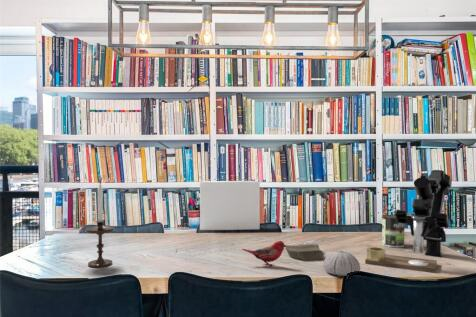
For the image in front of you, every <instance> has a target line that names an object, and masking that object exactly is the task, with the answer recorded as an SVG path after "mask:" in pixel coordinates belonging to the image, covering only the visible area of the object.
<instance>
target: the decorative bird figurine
mask: <svg viewBox="0 0 476 317" xmlns="http://www.w3.org/2000/svg"><path fill="white" fill-rule="evenodd" d="M287 246H288V245H285V243H284V241H282V240H278V241H276V242H274V243H273V244H272V245H270V246H269V245H268V246H266V247H265V246H264V247H262V248H258V249H255V250H251V249H245V248H242V249H241V250H242V251H245V252H247V253H249V254H251V255H253V256H254V257H255V258H256V259H258V260H261V261H262V262H264V263H263V264H262V266H269V267H272V266H274V264H272V263H271V262H274V261H278V259H279V258H280V257H281V255H282V253H283V251H284V250H285V248H286V247H287ZM269 262H270V263H269Z"/></svg>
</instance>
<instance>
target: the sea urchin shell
mask: <svg viewBox="0 0 476 317" xmlns="http://www.w3.org/2000/svg"><path fill="white" fill-rule="evenodd" d="M322 264H323V269H324V271H325V272H327V273H328V274H331V275H335V276H343V277H345V276H347V275H346V274H347V273H350V272H354V271H359V272H360V270H361V265H360V262H359V260H358V259H357V258H356V257H355V255H353V254H352V253H351V252H348V251H344V250H336V251H332V252H331V253H330V254H328V255H327V256H326V257H325V259H324V260H323V263H322Z"/></svg>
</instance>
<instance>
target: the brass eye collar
mask: <svg viewBox="0 0 476 317" xmlns="http://www.w3.org/2000/svg"><path fill="white" fill-rule="evenodd" d="M385 254H386V249H385V248H383V247H377V246H373V247H371V246H369V247H367V248H366V259H369V260H372V261H384V260H385Z"/></svg>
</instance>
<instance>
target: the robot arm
mask: <svg viewBox="0 0 476 317" xmlns="http://www.w3.org/2000/svg"><path fill="white" fill-rule="evenodd" d="M452 182H453V181H452V179H451V176H450V175H448V174H447V173H445V170H442V169H433V170H431V172H430V174H429V175H428V176H427V175H420V176H419V177H417V178H416V179H415V180H413V185H414V188H415V192H416V196H418V197H417V198H413V199H412V201H411V202H412V204H411V207H412V212H408V210H405V209H396V211H395V214H394V215H395V216H396V218H397V221H398V222H399V223H404V225H405V224H406V225H407V226H409V229H410V234H411V236H412V237H413V218H411V216H413V215H419V216H425V217H426V219H424V230H423V235H422V236H423V237H424V241H426V244H425V245H426V246H425V247H426V250H425V252H424V255H427V256H434V257H442V256H443V252H442V243H445V242H447V236H446V231H445V229H448V228H449V225H450V220H449V216H448V214H447V213H442V212H443V207H444V201H445V200H444V199H445V196H446V195H448V193H450V189H451V188H452Z"/></svg>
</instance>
